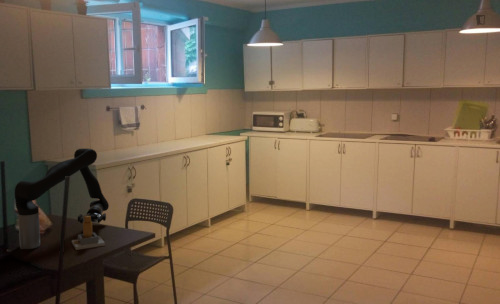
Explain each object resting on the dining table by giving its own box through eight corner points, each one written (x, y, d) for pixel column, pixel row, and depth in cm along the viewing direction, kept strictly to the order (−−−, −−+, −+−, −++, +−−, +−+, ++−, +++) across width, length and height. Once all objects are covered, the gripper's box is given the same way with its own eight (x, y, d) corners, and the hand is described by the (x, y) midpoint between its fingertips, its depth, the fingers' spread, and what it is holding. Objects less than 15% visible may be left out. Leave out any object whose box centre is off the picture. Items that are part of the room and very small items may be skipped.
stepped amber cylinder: (84, 243, 238) (83, 218, 236) (82, 240, 242) (82, 216, 240) (93, 241, 240) (92, 217, 238) (91, 239, 244) (90, 215, 242)
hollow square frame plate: (76, 249, 232) (75, 241, 232) (71, 243, 243) (71, 234, 242) (105, 245, 239) (104, 236, 239) (99, 238, 250) (99, 230, 249)
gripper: (81, 207, 261) (75, 214, 245) (107, 206, 263) (103, 213, 248) (81, 220, 262) (76, 228, 246) (108, 219, 264) (104, 227, 249)
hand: (90, 221), depth 247 cm, fingers open, 8 cm apart
